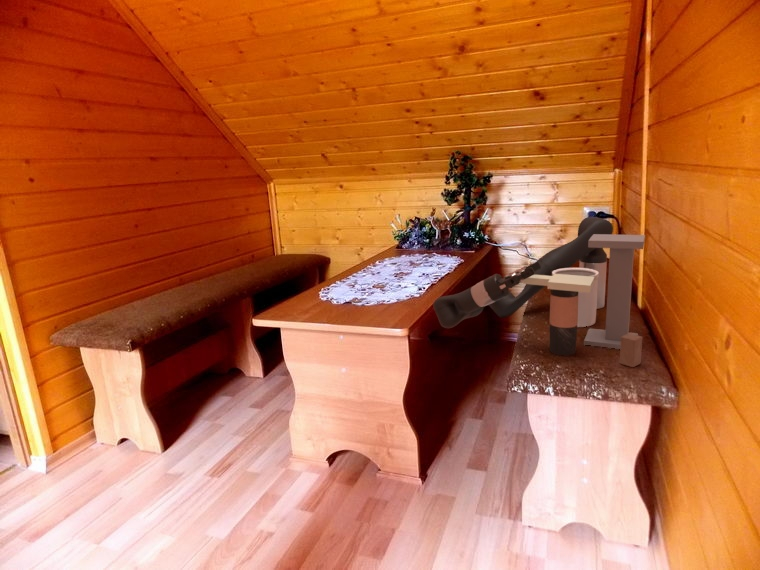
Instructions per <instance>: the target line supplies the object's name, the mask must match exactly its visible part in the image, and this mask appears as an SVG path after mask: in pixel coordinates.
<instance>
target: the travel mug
mask: <svg viewBox="0 0 760 570" xmlns="http://www.w3.org/2000/svg"><path fill="white" fill-rule="evenodd" d="M549 299H550V300H549V301H550V302H549V352H550V351H551V352H552V353H551V352H550V353H551V354H553V353H554V354H553V355H556V354H557V355H556V356H561V355H564V356H565V357H567V356H568V355H569V356H573V355H574V354H575V353H576V348H577V338H578V337H577V335H578V327H577V324H578V292H576V291H565V290H555V289H550V298H549ZM572 354H573V355H572Z"/></svg>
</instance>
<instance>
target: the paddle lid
mask: <svg viewBox="0 0 760 570" xmlns="http://www.w3.org/2000/svg"><path fill="white" fill-rule="evenodd" d="M519 274H520V273H519ZM594 278H595V277H591V276H578V275H566V274H554V275H553V276H546V275H532V276H530V277H528V278H526V279H524V280H523V281H522V282H520V283H519V285H520V284H522V285H526V284H531V285H543V286H545V287H547V290H551V289H555V290H565V291H576V292H587V293H590V291H591V289H592V287H593V285H594Z"/></svg>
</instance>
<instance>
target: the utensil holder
mask: <svg viewBox="0 0 760 570" xmlns="http://www.w3.org/2000/svg"><path fill="white" fill-rule="evenodd" d="M554 274H566V275H578V276H591V277H595V278H594V285H593V287H592V289H591V291H590V293H587V292H578V324H577V328H584V327H585V328H586V326H587V327H590V326H593V325H595V324H596V321H597V287H598V277H599V272H598V271H596V270H593V269H588V268H579V267H570V268H562V269H557V270H554V271H553V272H552V276H553V275H554Z"/></svg>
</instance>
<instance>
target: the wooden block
mask: <svg viewBox="0 0 760 570" xmlns="http://www.w3.org/2000/svg"><path fill="white" fill-rule="evenodd" d="M642 349H643V336H641V335H639V334H638V335H634V334H630V333H629V334H626V335H624V336H622V337H621V347H620V350H619V364H621V365H623V366H627V367H630V368H634V367H636V366H639V365H640V364H641V363H642V362H641V361H642V360H641V359H642Z"/></svg>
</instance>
